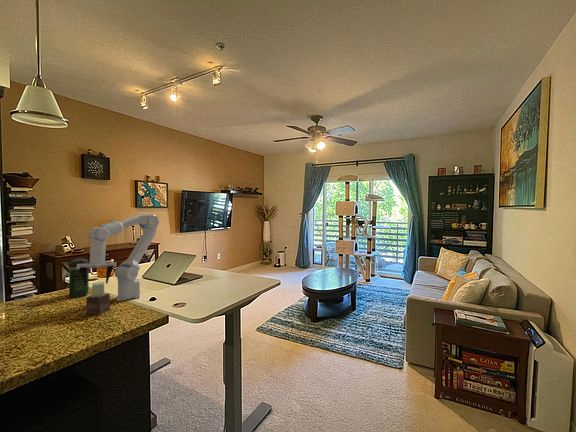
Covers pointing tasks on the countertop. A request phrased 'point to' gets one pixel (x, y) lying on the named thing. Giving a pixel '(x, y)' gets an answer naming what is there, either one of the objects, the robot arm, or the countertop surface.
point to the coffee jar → (77, 279)
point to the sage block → (98, 289)
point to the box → (98, 304)
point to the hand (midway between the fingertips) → (96, 283)
